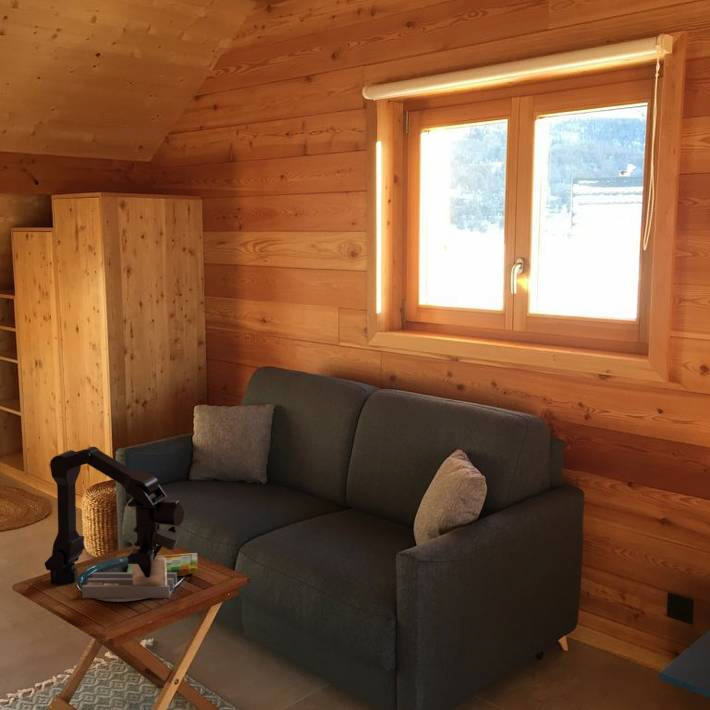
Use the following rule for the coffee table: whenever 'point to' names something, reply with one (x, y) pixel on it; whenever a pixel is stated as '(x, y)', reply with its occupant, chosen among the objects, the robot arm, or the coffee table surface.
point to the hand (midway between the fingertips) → (149, 575)
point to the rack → (126, 586)
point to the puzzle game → (178, 563)
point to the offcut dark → (95, 583)
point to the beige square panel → (156, 575)
